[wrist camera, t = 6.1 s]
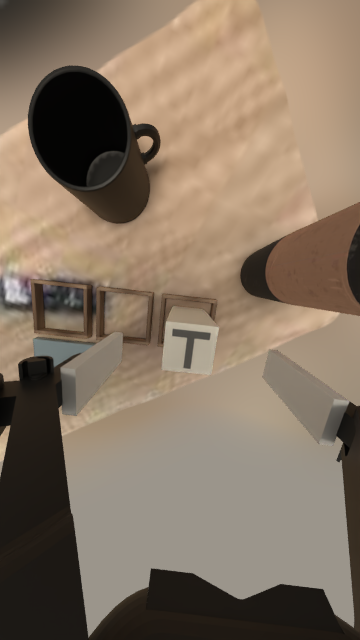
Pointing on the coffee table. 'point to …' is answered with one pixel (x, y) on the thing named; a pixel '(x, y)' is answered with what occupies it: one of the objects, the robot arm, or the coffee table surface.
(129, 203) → the mug
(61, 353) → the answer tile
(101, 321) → the wooden window frame
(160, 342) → the wooden frame right
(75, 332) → the wooden picture frame
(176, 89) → the coffee table surface
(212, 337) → the letter block
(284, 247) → the travel mug
